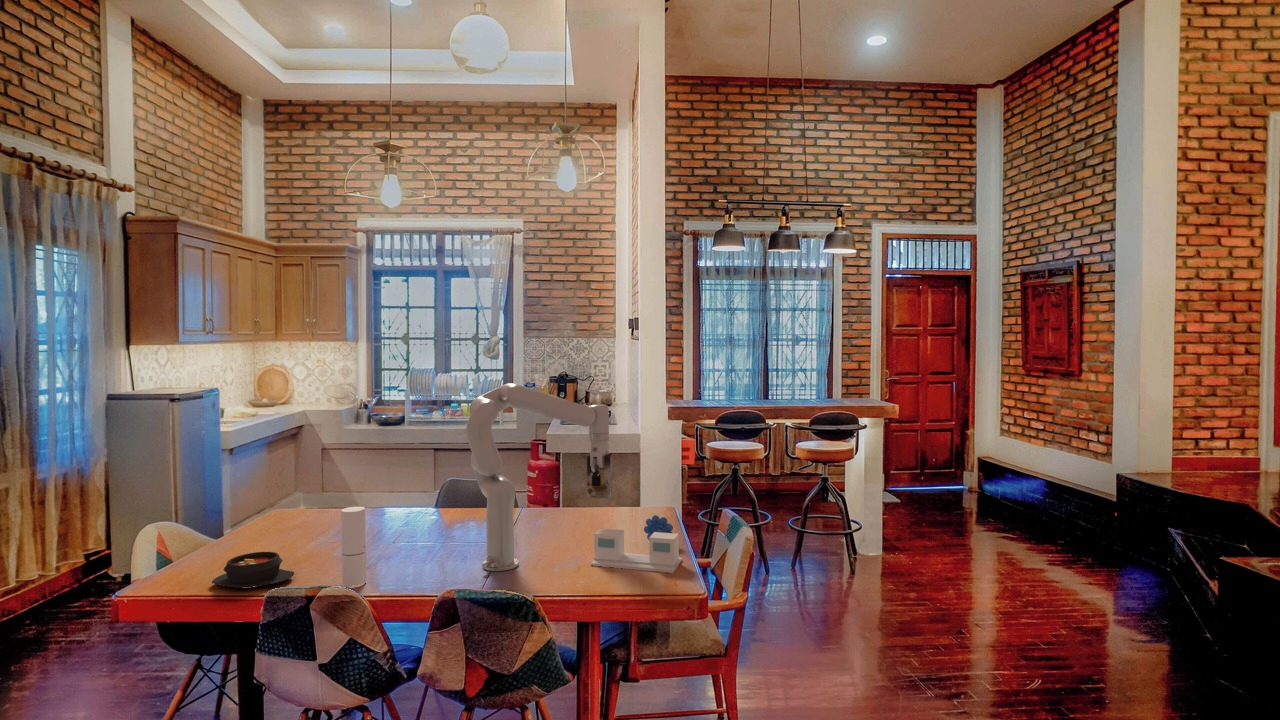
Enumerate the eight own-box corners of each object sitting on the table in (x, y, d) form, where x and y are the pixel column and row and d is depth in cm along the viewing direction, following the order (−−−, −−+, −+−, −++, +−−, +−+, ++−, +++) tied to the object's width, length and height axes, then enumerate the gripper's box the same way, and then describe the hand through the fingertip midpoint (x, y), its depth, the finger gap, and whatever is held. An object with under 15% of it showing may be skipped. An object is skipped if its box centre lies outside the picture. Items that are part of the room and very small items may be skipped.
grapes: (644, 549, 255) (644, 518, 255) (643, 544, 262) (643, 513, 262) (674, 548, 256) (674, 517, 255) (673, 543, 262) (673, 513, 262)
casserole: (305, 573, 231) (305, 549, 231) (274, 593, 213) (273, 567, 213) (235, 573, 232) (234, 549, 232) (197, 593, 214) (197, 567, 214)
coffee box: (586, 498, 251) (585, 455, 250) (588, 494, 257) (588, 453, 257) (610, 498, 250) (610, 455, 250) (612, 494, 257) (612, 453, 256)
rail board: (673, 573, 229) (672, 542, 228) (590, 565, 237) (590, 536, 237) (681, 560, 242) (681, 531, 242) (603, 553, 250) (603, 525, 250)
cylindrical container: (369, 580, 224) (368, 506, 223) (361, 588, 217) (360, 511, 216) (347, 581, 224) (346, 506, 223) (339, 588, 216) (337, 512, 216)
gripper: (601, 440, 244) (601, 489, 244) (614, 434, 261) (615, 479, 261) (582, 440, 246) (582, 488, 246) (596, 433, 263) (597, 478, 263)
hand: (599, 483), depth 254 cm, fingers closed on coffee box, 7 cm apart
